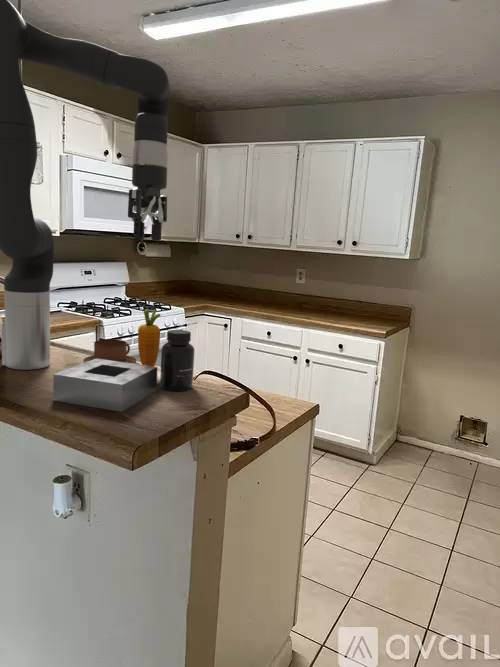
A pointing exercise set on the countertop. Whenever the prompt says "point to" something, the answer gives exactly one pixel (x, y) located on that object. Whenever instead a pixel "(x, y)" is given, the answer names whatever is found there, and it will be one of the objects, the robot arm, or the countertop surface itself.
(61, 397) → the metal housing
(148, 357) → the carrot
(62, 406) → the countertop surface
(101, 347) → the cup and saucer
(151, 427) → the countertop surface
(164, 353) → the supplement bottle
